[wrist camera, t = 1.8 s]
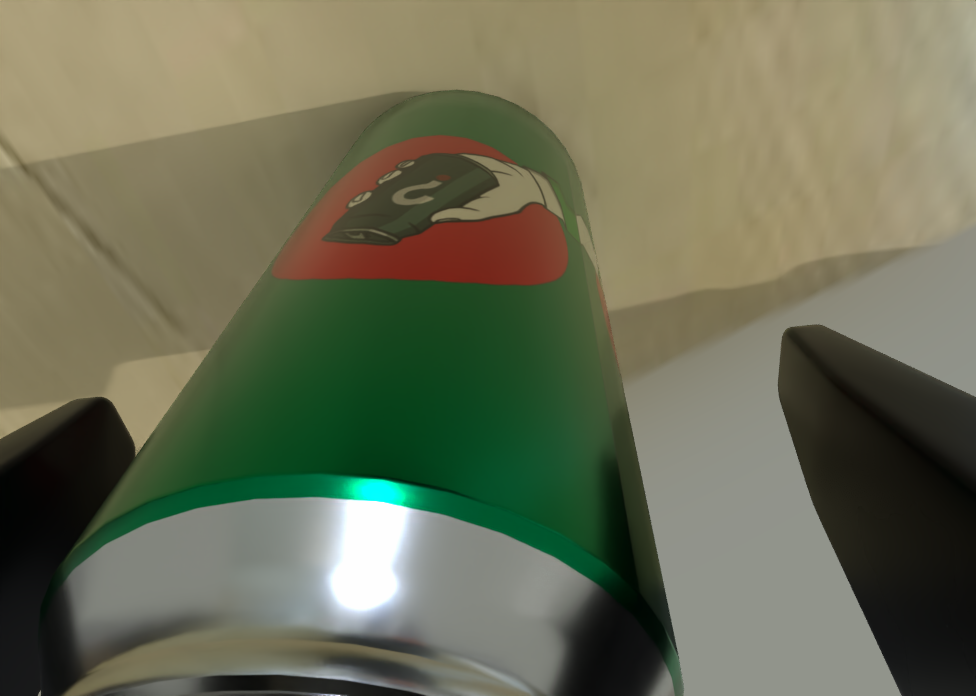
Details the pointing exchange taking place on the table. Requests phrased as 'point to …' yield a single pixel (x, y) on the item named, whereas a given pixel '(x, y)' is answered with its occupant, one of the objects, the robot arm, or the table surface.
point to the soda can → (390, 456)
